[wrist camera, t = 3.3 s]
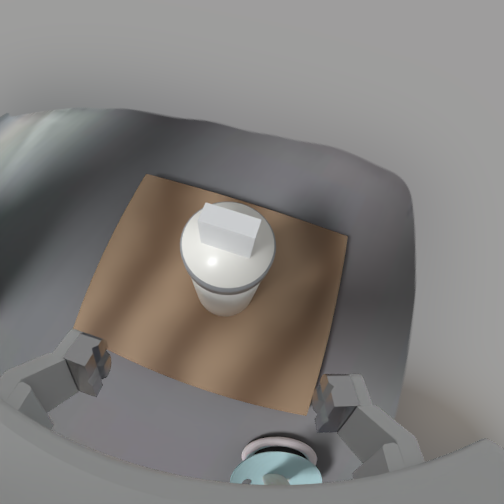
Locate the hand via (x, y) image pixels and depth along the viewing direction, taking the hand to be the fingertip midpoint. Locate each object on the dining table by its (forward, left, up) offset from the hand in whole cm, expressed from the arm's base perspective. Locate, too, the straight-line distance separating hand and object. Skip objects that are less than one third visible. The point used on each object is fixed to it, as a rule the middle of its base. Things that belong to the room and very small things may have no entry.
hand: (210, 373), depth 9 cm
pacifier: (+7, -8, -12) cm, 16 cm away
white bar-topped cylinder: (-1, +6, -11) cm, 12 cm away
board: (-2, +6, -12) cm, 13 cm away
